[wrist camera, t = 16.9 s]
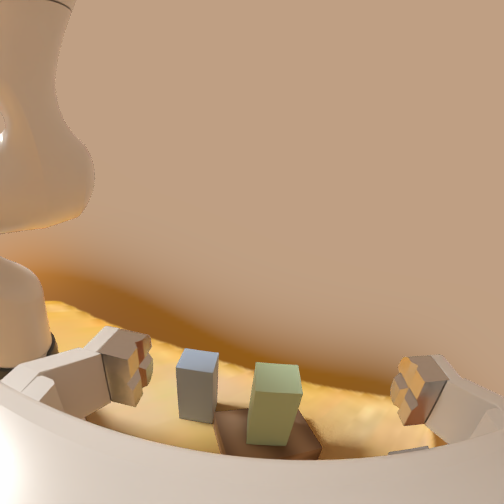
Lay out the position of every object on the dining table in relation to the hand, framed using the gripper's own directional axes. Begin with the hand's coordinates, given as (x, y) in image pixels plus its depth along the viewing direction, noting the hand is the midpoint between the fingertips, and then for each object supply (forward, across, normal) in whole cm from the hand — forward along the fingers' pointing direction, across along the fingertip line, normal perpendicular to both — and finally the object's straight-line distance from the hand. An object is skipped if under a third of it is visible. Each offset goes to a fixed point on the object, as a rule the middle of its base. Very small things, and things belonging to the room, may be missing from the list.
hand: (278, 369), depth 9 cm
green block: (+20, -2, +25) cm, 32 cm away
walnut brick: (+20, -2, +30) cm, 36 cm away
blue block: (+26, +8, +29) cm, 40 cm away
